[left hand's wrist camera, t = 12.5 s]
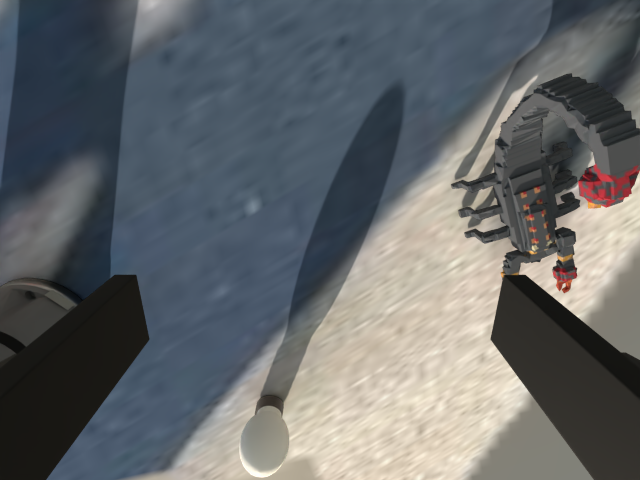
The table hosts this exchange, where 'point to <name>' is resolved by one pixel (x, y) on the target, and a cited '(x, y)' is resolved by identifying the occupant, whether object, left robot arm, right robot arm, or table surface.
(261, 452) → the light bulb
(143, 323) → the left robot arm
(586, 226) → the table surface
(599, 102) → the toy
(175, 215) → the table surface
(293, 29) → the table surface
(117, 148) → the table surface
